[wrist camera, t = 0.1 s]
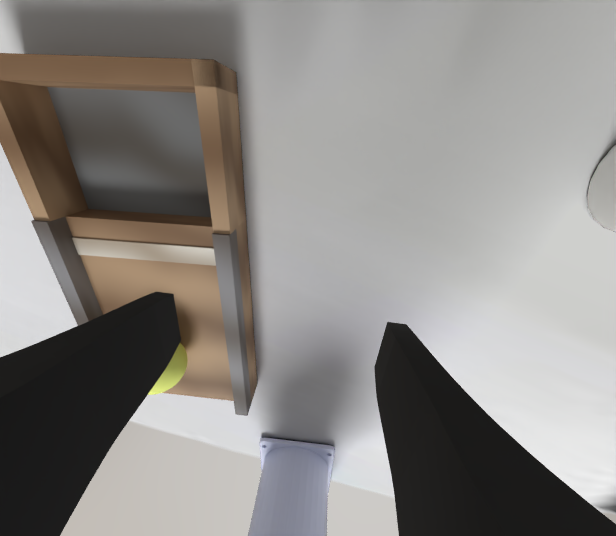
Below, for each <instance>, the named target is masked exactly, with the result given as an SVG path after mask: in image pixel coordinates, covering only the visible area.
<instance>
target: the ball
mask: <svg viewBox="0 0 616 536" xmlns="http://www.w3.org/2000/svg"><path fill="white" fill-rule="evenodd" d="M187 362H188V358H187V353H186V350H185V348H184V346H183V345H182V344H181V343H179V345H178V347H177V349H176V351H175V353H174V355H173V357H172V359H171V360H170V362H169V364H168V366H167V368H166V369H165V370H164V372H163V373H162V375H161V376H160V378H159V379H158V381H157V382H156V383H155V385H154V386H153V388H152V389H151V390H150V392H149V393H148V395H152V394H159V393H162V392H165V391H167V390H169V389H170V388H172V387H173V386H175V385H176V384H177V383H178V382H179V381H180V379H181V378H182V377H183V375H184V373H185V371H186V368H187Z"/></svg>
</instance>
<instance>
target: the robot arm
mask: <svg viewBox="0 0 616 536" xmlns="http://www.w3.org/2000/svg"><path fill="white" fill-rule="evenodd" d="M180 341H181V336H180V330H179V324H178V318H177V312H176V306H175V300H174V294H171V293H163V292H154V293H151V294H148V295H146V296H143V297H141V298H139V299H136V300H134V301H132V302H130V303H128V304H125V305H123V306H121V307H119V308H117V309H114V310H112V311H110V312H108V313H106V314H104V315H101V316H99V317H97V318H95V319H93V320H90V321H88V322H86V323H84V324H82V325H79V326H77V327H74V328H72V329H70V330H67V331H65V332H63V333H60V334H58V335H56V336H53V337H51V338H49V339H46V340H44V341H41V342H39V343H37V344H34V345H32V346H29V347H27V348H24V349H22V350H19V351H16V352H14V353H11V354H8V355H6V356H3V357H0V536H60V535H61V532H62V531H63V529H64V527H65V525H66V524H67V522H68V520H69V518H70V516H71V515H72V513H73V511H74V509H75V508H76V506H77V504H78V502H79V500H80V498H81V497H82V495H83V493H84V491H85V490H86V488H87V486H88V484H89V483H90V481H91V479H92V478H93V476H94V474H95V473H96V470H97V469H98V468H99V466H100V464H101V463H102V461H103V459H104V457H105V456H106V454H107V452H108V451H109V449H110V448H111V446H112V444H113V443H114V441H115V440H116V438H117V437H118V435H119V434H120V432H121V431H122V430H123V428H124V427H125V425H126V424H127V423H128V421H129V420H130V418H131V417H132V416H133V414H134V413H135V411H136V410H137V409H138V407H139V406H140V404H141V403H142V402H143V400H144V399H145V397H146V396H147V395H148V393H149V392H150V390H151V389H152V388H153V386H154V385H155V383H156V382H157V381H158V379H159V378H160V376H161V375H162V373H163V372H164V370H165V369H166V368H167V366H168V364H169V362H170V360H171V359H172V357H173V355H174V353H175V351H176V349H177V347H178V345H179V343H180ZM375 382H376V394H377V401H378V407H379V412H380V417H381V423H382V428H383V433H384V438H385V443H386V448H387V454H388V459H389V464H390V469H391V474H392V481H393V487H394V494H395V502H396V511H397V521H398V530H399V536H616V524H615V523H613V522H612V521H611V520H610V519H608V518H607V517H606V516H605V515H603V514H602V513H601V512H600V511H598V510H597V509H596V508H594V507H593V506H592V505H591V504H589V503H588V502H587V501H586V500H585V499H583V498H582V497H581V496H580V495H579V494H577V493H576V492H575V491H574V490H572V489H571V488H570V487H569V486H568V485H566V484H565V483H564V482H563V481H562V480H560V479H559V478H558V477H557V476H556V475H554V474H553V473H552V472H551V471H550V470H548V469H547V468H546V467H545V466H544V465H543V464H541V463H540V462H539V461H538V460H537V459H536V458H534V457H533V456H532V455H531V454H530V453H529V452H528V451H527V450H525V449H524V448H523V447H522V446H521V445H520V444H519V443H518V442H517V441H516V440H515V439H513V438H512V437H511V436H510V435H509V434H508V433H507V432H506V431H505V430H504V429H503V428H501V427H500V426H499V425H498V424H497V423H496V422H495V421H494V420H493V419H492V418H491V417H490V416H489V415H488V414H487V413H486V412H485V411H484V410H483V409H482V408H481V407H480V406H479V405H478V404H477V403H476V402H475V401H474V400H473V399H472V398H471V397H470V396H469V395H468V394H467V393H466V392H465V391H464V390H463V389H462V388H461V386H460V385H459V384H458V383H457V382H456V381H455V380H454V379H453V378H452V377H451V376H450V374H449V373H448V372H447V371H446V370H445V369H444V368H443V367H442V365H441V364H440V363H439V362H438V361H437V360H436V359H435V357H434V356H433V355H432V354H431V353H430V352H429V350H428V349H427V348H426V347H425V346H424V345H423V343H422V342H421V341H420V340H419V339H418V337H417V336H416V335H415V334H414V333H413V331H412V330H411V329H410V328H409V327H408V326H407V325H406V324H399V323H391V322H387V325H386V329H385V332H384V336H383V339H382V343H381V346H380V350H379V353H378V357H377V360H376V364H375ZM334 452H335V449H334V447H333V446H330V445H322V444H314V443H306V442H298V441H289V440H281V439H273V438H261V439H260V455H261V469H262V473H261V478H260V483H259V487H258V492H257V496H256V501H255V506H254V510H253V515H252V519H251V524H250V528H249V533H248V536H327V501H328V498H327V497H328V492H329V485H330V479H331V472H332V466H333V459H334Z"/></svg>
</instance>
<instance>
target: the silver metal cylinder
mask: <svg viewBox="0 0 616 536" xmlns="http://www.w3.org/2000/svg"><path fill="white" fill-rule="evenodd" d="M587 202H588V209H589V211H590V213H591V215H592V217H593V219H594V220H595V221H596V222H597V223H599V224H600V225H601V226H602V227H603V228H606V229H609V230H611V231H614V232H616V144H615V145H614V146H613V147H612V148H611V149H610V151H609V152H608V153H607V154H606V156H605V157H604V158H603V159H602V161H601V162H600V163H599V165H598V167H597V169H596V170H595V172H594V174H593V176H592V178H591V180H590V185H589V189H588V193H587Z"/></svg>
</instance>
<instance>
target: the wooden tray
mask: <svg viewBox="0 0 616 536" xmlns="http://www.w3.org/2000/svg"><path fill="white" fill-rule="evenodd" d="M0 143H1V145H2V147H3V150H4V152H5V154H6V157H7V159H8V161H9V163H10V166H11V168H12V170H13V172H14V175H15V177H16V179H17V181H18V184H19V186H20V188H21V190H22V193H23V195H24V197H25V200H26V202H27V204H28V206H29V209H30V211H31V213H32V215H33V218H34V220H33V221H31V222H32V224H33V226H34V228H35V231H36V233H37V235H38V237H39V240H40V242H41V244H42V246H43V249H44V251H45V253H46V255H47V257H48V260H49V262H50V264H51V266H52V269H53V271H54V273H55V275H56V278H57V280H58V282H59V284H60V286H61V289H62V291H63V293H64V295H65V298H66V300H67V302H68V304H69V307H70V309H71V311H72V313H73V315H74V318H75V320H76V322H77V324H78V326H79V325H82V324H84V323H86V322H88V321H90V320H93V319H95V318H97V317H99V316H101V315H104V314H106V313H108V312H110V311H112V310H114V309H117V308H119V307H121V306H123V305H125V304H128V303H130V302H132V301H134V300H136V299H139V298H141V297H143V296H146V295H148V294H151V293H154V292H163V293H171V294H174V300H175V306H176V312H177V318H178V324H179V330H180V336H181V341H180V343H181V344H182V345H183V346H184V348H185V350H186V353H187V358H188V362H187V368H186V371H185V373H184V375H183V377H182V378H181V379H180V381H179V382H178V383H177V384H176V385H175V386H173V387H172V388H170V389H169V390H167V391H165V392H162V393H169V394H178V395H187V396H195V397H204V398H213V399H222V400H231V401H234V406H235V414H237V415H245V416H247V415H248V412H249V409H250V405H251V402H252V399H253V396H254V393H255V389H256V386H257V373H256V358H255V343H254V328H253V313H252V299H251V284H250V269H249V254H248V239H247V225H246V210H245V195H244V180H243V165H242V151H241V136H240V121H239V106H238V91H237V77H236V72H234V71H233V70H231V69H229V68H227V67H226V66H224V65H222V64H220V63H219V62H217V61H215V60H212V59H178V58H144V57H110V56H77V55H43V54H9V53H0Z"/></svg>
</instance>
